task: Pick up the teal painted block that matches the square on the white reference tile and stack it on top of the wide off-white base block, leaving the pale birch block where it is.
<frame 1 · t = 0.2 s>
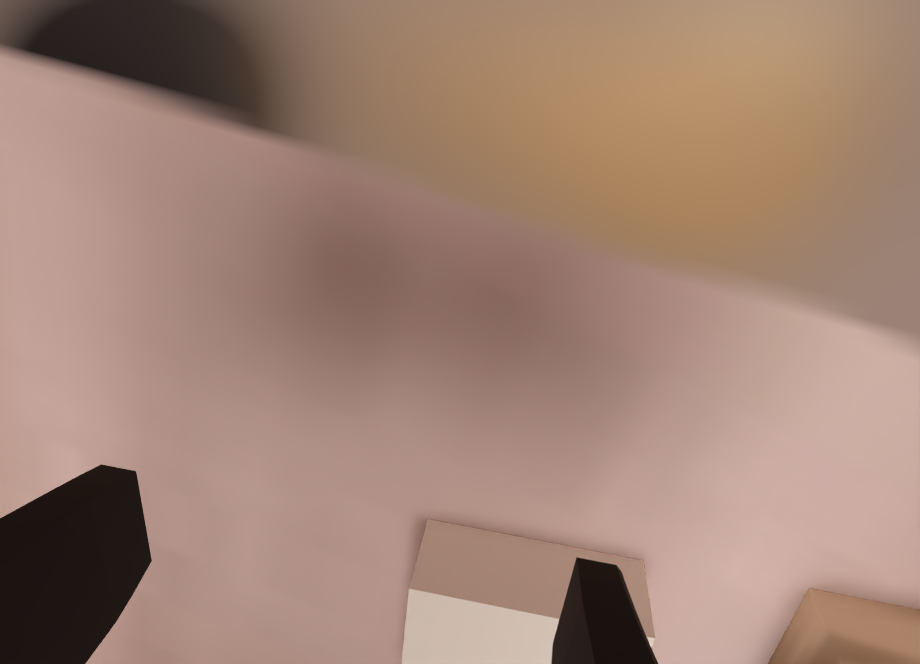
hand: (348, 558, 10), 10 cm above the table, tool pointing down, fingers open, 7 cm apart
base block: (518, 605, 25), on the table
birch block: (848, 640, 22), on the table
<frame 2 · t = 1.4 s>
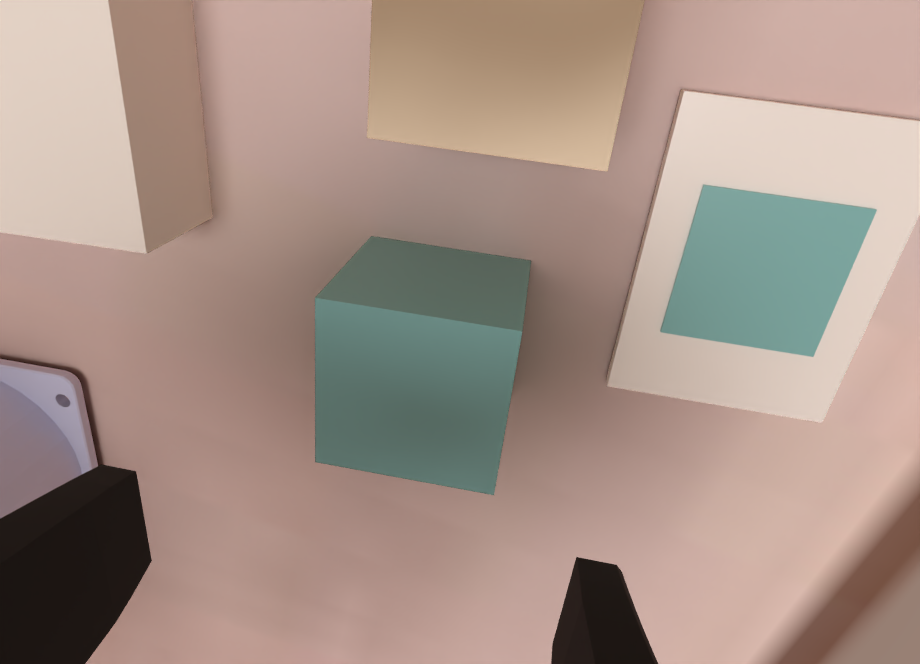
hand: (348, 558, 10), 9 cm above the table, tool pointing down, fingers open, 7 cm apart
base block: (63, 49, 16), on the table
birch block: (518, 20, 14), on the table
teal block: (443, 319, 18), on the table
reference tile: (755, 268, 16), on the table
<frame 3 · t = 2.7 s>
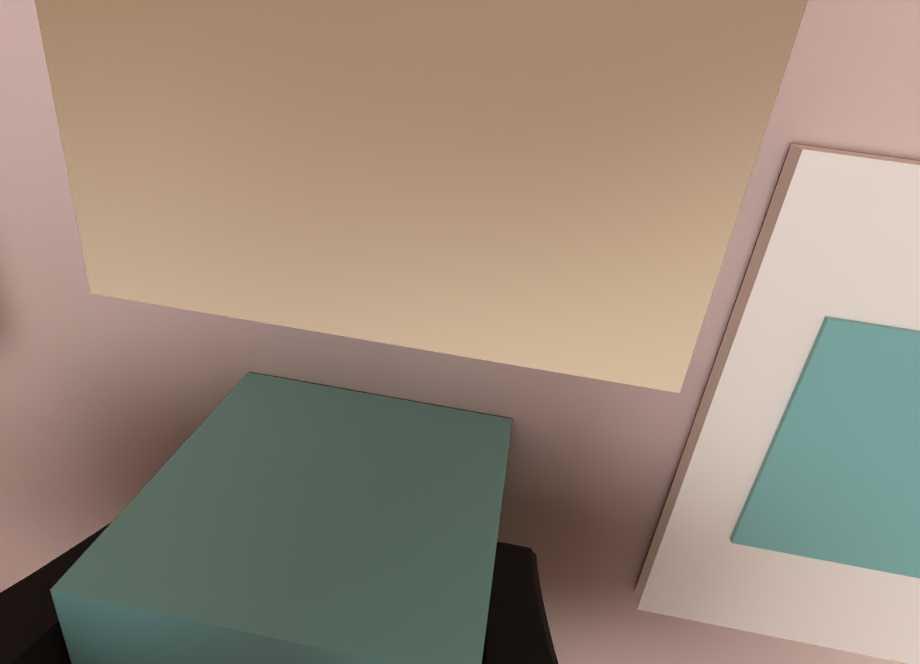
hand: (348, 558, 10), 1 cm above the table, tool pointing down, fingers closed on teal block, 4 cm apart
birch block: (481, 13, 7), on the table
teal block: (372, 497, 11), on the table, touching gripper
reference tile: (902, 446, 9), on the table
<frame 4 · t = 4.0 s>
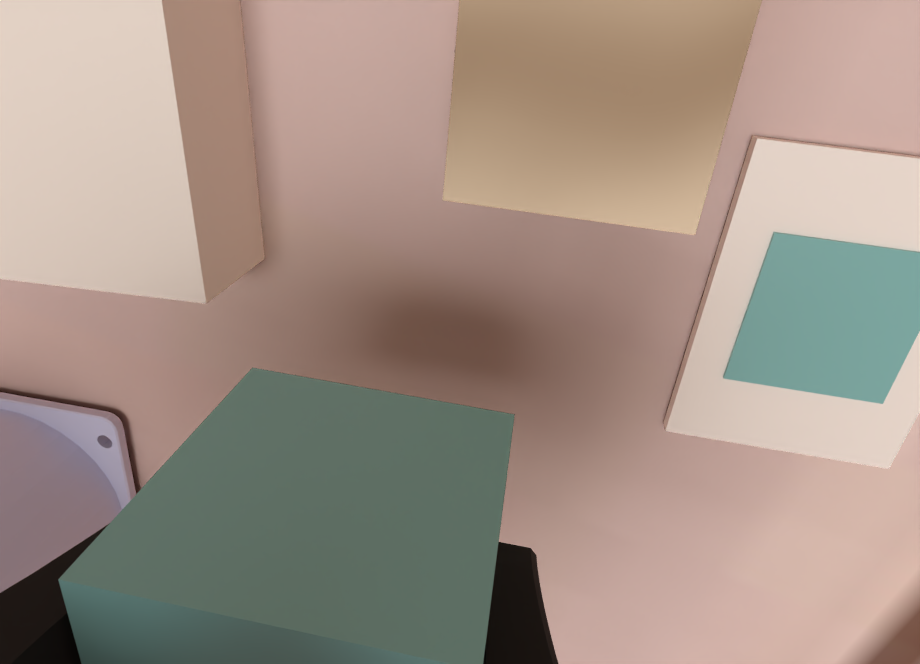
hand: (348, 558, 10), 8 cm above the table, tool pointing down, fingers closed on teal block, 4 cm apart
base block: (111, 94, 16), on the table
birch block: (583, 66, 14), on the table
teal block: (375, 493, 11), point 7 cm above the table, touching gripper
reference tile: (823, 314, 15), on the table
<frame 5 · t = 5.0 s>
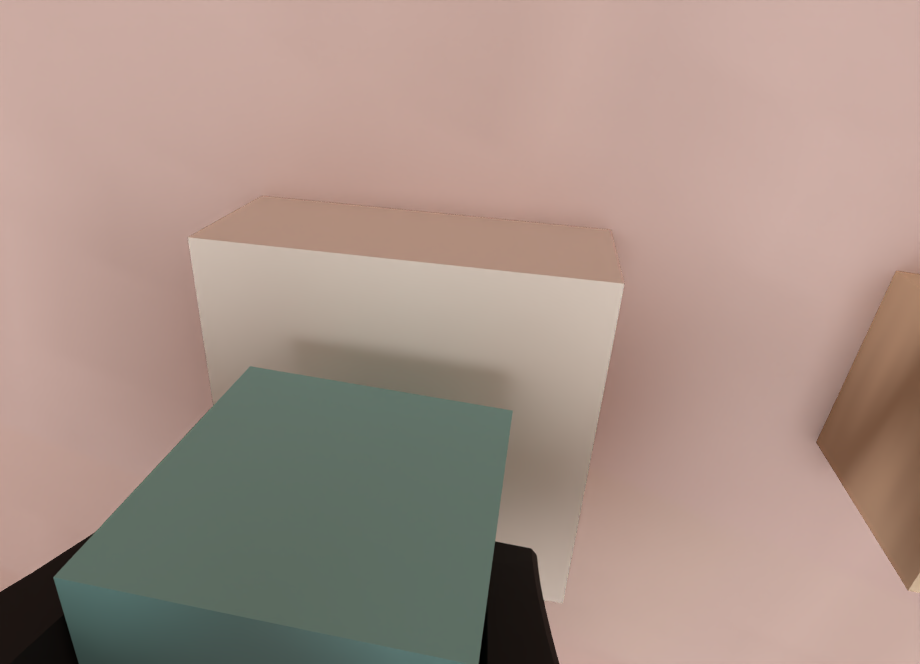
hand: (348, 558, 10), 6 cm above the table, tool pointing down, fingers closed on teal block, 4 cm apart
base block: (428, 359, 16), on the table
teal block: (374, 491, 11), point 5 cm above the table, touching gripper
when the fingers open (6 cm above the table, at t = 5.5 s): teal block drops 1 cm, point 3 cm above the table.
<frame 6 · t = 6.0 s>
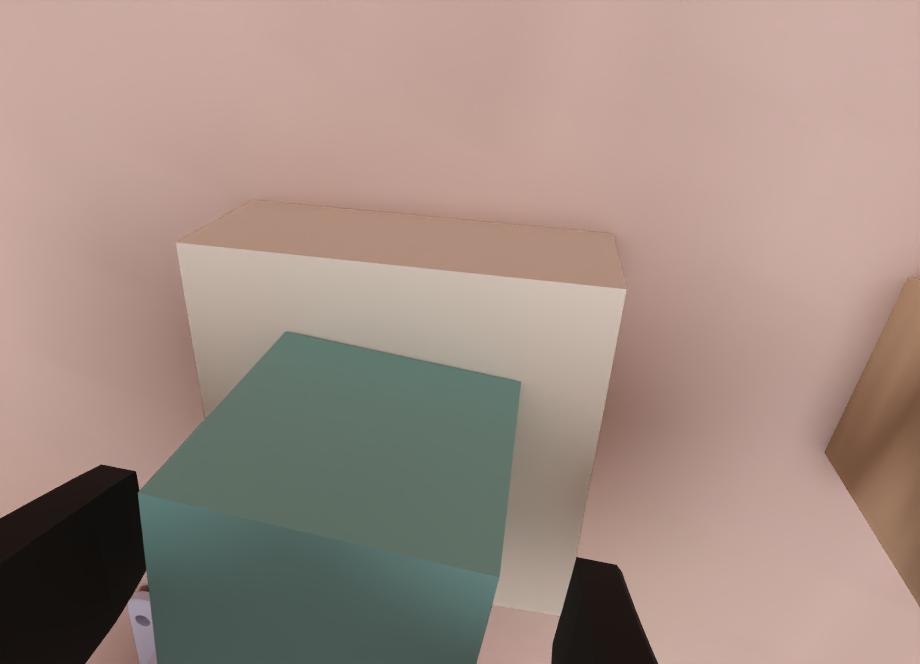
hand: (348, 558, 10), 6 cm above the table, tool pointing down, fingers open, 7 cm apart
base block: (425, 366, 15), on the table
teal block: (389, 451, 12), point 3 cm above the table
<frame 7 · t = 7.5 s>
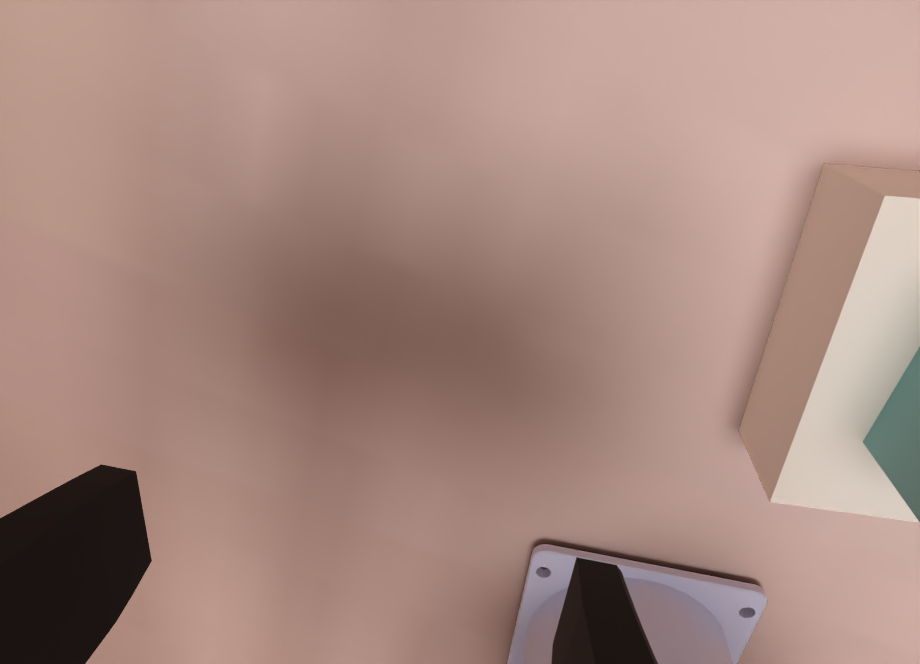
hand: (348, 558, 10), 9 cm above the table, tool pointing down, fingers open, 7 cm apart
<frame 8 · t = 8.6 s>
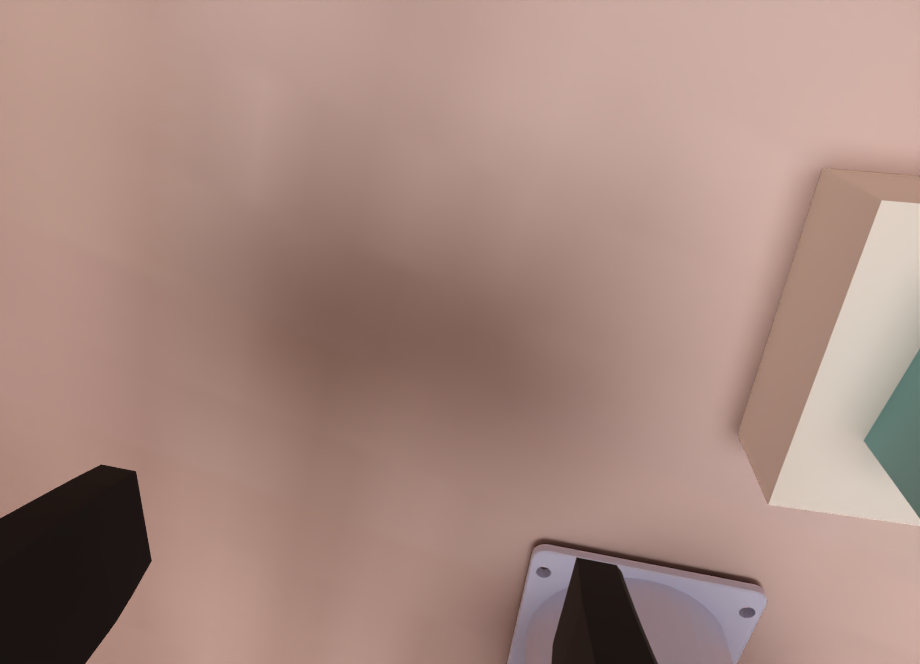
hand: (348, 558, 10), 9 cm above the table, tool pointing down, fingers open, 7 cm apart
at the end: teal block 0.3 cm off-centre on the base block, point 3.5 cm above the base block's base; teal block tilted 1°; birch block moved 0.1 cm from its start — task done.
